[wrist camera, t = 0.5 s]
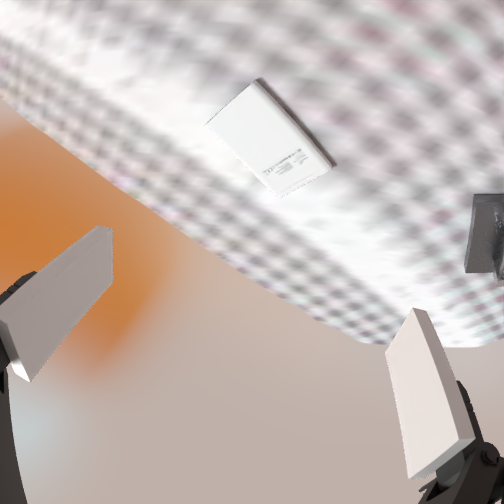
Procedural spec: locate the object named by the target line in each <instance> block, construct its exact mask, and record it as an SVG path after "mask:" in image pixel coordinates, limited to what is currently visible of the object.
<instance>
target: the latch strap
mask: <svg viewBox="0 0 504 504" xmlns="http://www.w3.org/2000/svg"><path fill="white" fill-rule="evenodd" d="M498 273H499V275H500V276H501V277H502V278H504V252H503V255H502V259H501V262H500V266H499V269H498Z"/></svg>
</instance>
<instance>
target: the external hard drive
mask: <svg viewBox="0 0 504 504" xmlns="http://www.w3.org/2000/svg"><path fill="white" fill-rule="evenodd" d="M204 126H205V127H206V128H207V129H208V130H209V131H210V132H211V133H212V134H213V135H214V136H215V137H216V138H217V139H219V140H220V141H221V142H222V143H223V144H224V145H225V146H226V147H227V148H228V149H229V150H230V151H231V152H232V153H233V154H234V155H235V156H236V157H237V158H238V159H239V160H240V161H241V162H242V163H243V164H244V165H245V166H246V167H247V168H248V169H249V170H250V171H251V172H252V173H253V174H254V175H255V176H256V177H257V178H258V179H259V180H260V181H261V182H262V183H263V184H264V185H265V186H266V187H267V188H268V189H269V190H270V191H271V192H272V193H273V194H274V195H275V196H276V197H277V198H281V197H283V196H285V195H287V194H288V193H290V192H292V191H294V190H295V189H297V188H299V187H301V186H303V185H304V184H306V183H308V182H310V181H312V180H314V179H315V178H317V177H319V176H321V175H323V174H324V173H327V172H328V171H330V170H331V169H332V164H331V163H330V162H329V160H328V159H327V158H326V157H325V155H324V154H323V153H322V152H321V151H320V149H319V148H318V147H317V146H316V145H315V144H314V142H313V141H312V140H311V139H310V138H309V137H308V135H307V134H306V133H305V132H304V131H303V130H302V128H301V127H300V126H299V125H298V124H297V123H296V122H295V121H294V120H293V118H292V117H291V116H290V115H289V114H288V113H287V112H286V111H285V110H284V109H283V108H282V106H281V105H280V104H279V103H278V102H277V101H276V100H275V99H274V98H273V97H272V96H271V95H270V94H269V93H268V92H267V91H266V90H265V89H264V88H263V87H262V86H261V85H260V84H259V83H258V82H257V81H256V80H255V81H253V82H252V83H251V84H250V85H249V86H248V87H246V88H245V89H244V90H243V91H242V92H241V93H239V94H238V95H237V96H236V97H235V98H234V99H233V100H231V101H230V102H229V103H228V104H227V105H226V106H225V107H224V108H223V109H221V110H220V111H219V112H218V113H217V114H216V115H215V116H214V117H213V118H212V119H211V120H210V121H208V122H207V123H206V124H205V125H204Z"/></svg>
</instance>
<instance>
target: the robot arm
mask: <svg viewBox="0 0 504 504" xmlns="http://www.w3.org/2000/svg"><path fill="white" fill-rule="evenodd" d="M112 247H113V229H111V228H107V227H103V226H100V225H98V226H96V227H95V228H94V229H92V230H91V231H90V232H88V233H87V234H85V235H84V236H83V237H81V238H80V239H79V240H78V241H76V242H75V243H74V244H72V245H71V246H70V247H69V248H67V249H66V250H65V251H63V252H62V253H61V254H60V255H58V256H57V257H56V258H55V259H53V260H52V261H51V262H50V263H49V264H47V265H46V266H45V267H44V268H43V269H41V270H40V271H39V272H38V273H37V272H35V271H33V272H31V273H29V274H26V275H24V276H22V277H21V278H20V279H18V281H16V282H15V283H14V285H11V286H10V287H9V288H8V289H7V291H5V292H3V293H2V294H1V295H0V504H27V500H26V497H25V493H24V489H23V485H22V481H21V476H20V472H19V467H18V462H17V457H16V451H15V446H14V438H13V432H12V423H11V414H10V403H9V389H8V373H7V369H6V367H7V366H8V364H9V363H11V365H12V367H13V369H14V371H15V373H16V374H18V375H19V376H21V377H23V378H24V379H26V380H27V381H29V382H31V381H32V379H33V378H34V377H35V376H36V374H37V373H38V372H39V370H40V369H41V368H42V367H43V365H44V364H45V363H46V361H47V360H48V359H49V358H50V356H51V355H52V354H53V353H54V351H55V350H56V349H57V348H58V346H59V345H60V344H61V343H62V341H63V340H64V339H65V338H66V336H67V335H68V334H69V332H70V331H71V330H72V329H73V328H74V327H75V326H76V324H77V323H78V322H79V321H80V320H81V318H82V317H83V316H84V315H85V314H86V313H87V311H88V310H89V309H90V308H91V307H92V306H93V304H94V303H95V302H96V301H97V300H98V299H99V297H100V296H101V295H102V294H103V293H104V292H105V291H106V290H107V289H108V287H109V286H110V285H111V284H112V283H113V248H112ZM385 355H386V359H387V363H388V368H389V372H390V376H391V381H392V386H393V390H394V395H395V400H396V405H397V410H398V415H399V421H400V427H401V432H402V438H403V444H404V451H405V458H406V465H407V472H408V479H421V478H426V477H427V476H429V475H430V474H432V473H433V472H434V471H436V475H437V477H436V478H435V479H434V480H432V481H431V482H429V483H428V484H426V485H425V486H423V487H422V488H421V489H420V490H419V492H421V491H423V490H425V489H426V488H427V490H426V492H425V493H424V494H423V497H422V498H421V500H420V502H419V503H418V504H495V502H497V501H499V500H500V499H502V500H501V504H504V458H503V457H500V454H499V452H498V450H497V448H496V447H495V446H494V445H493V444H491V443H488V442H484V440H483V437H482V434H481V431H480V428H479V425H478V422H477V419H476V416H475V413H474V412H473V407H472V404H471V403H470V399H469V396H468V393H467V391H466V389H465V388H464V387H463V385H462V384H461V382H460V381H456V379H455V377H454V374H453V372H452V369H451V367H450V364H449V362H448V359H447V357H446V354H445V352H444V350H443V347H442V345H441V342H440V340H439V338H438V336H437V333H436V331H435V329H434V327H433V324H432V322H431V320H430V318H429V316H428V314H427V312H426V311H424V310H420V309H416V308H412V309H411V311H410V313H409V314H408V316H407V318H406V320H405V321H404V323H403V325H402V326H401V328H400V330H399V331H398V333H397V335H396V336H395V338H394V340H393V341H392V343H391V344H390V346H389V348H388V349H387V351H386V352H385Z"/></svg>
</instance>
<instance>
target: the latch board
mask: <svg viewBox="0 0 504 504" xmlns="http://www.w3.org/2000/svg"><path fill="white" fill-rule="evenodd" d="M503 252H504V194H476V195H474V199H473V209H472V218H471V225H470V233H469V239H468V246H467V252H466V257H465V263H464V267H465V273H488V272H493V276H494V281H495V286H496V287H499V286H504V278H502V277H501V276H500V275H499V273H498V269H499V266H500V262H501V259H502V255H503Z"/></svg>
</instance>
